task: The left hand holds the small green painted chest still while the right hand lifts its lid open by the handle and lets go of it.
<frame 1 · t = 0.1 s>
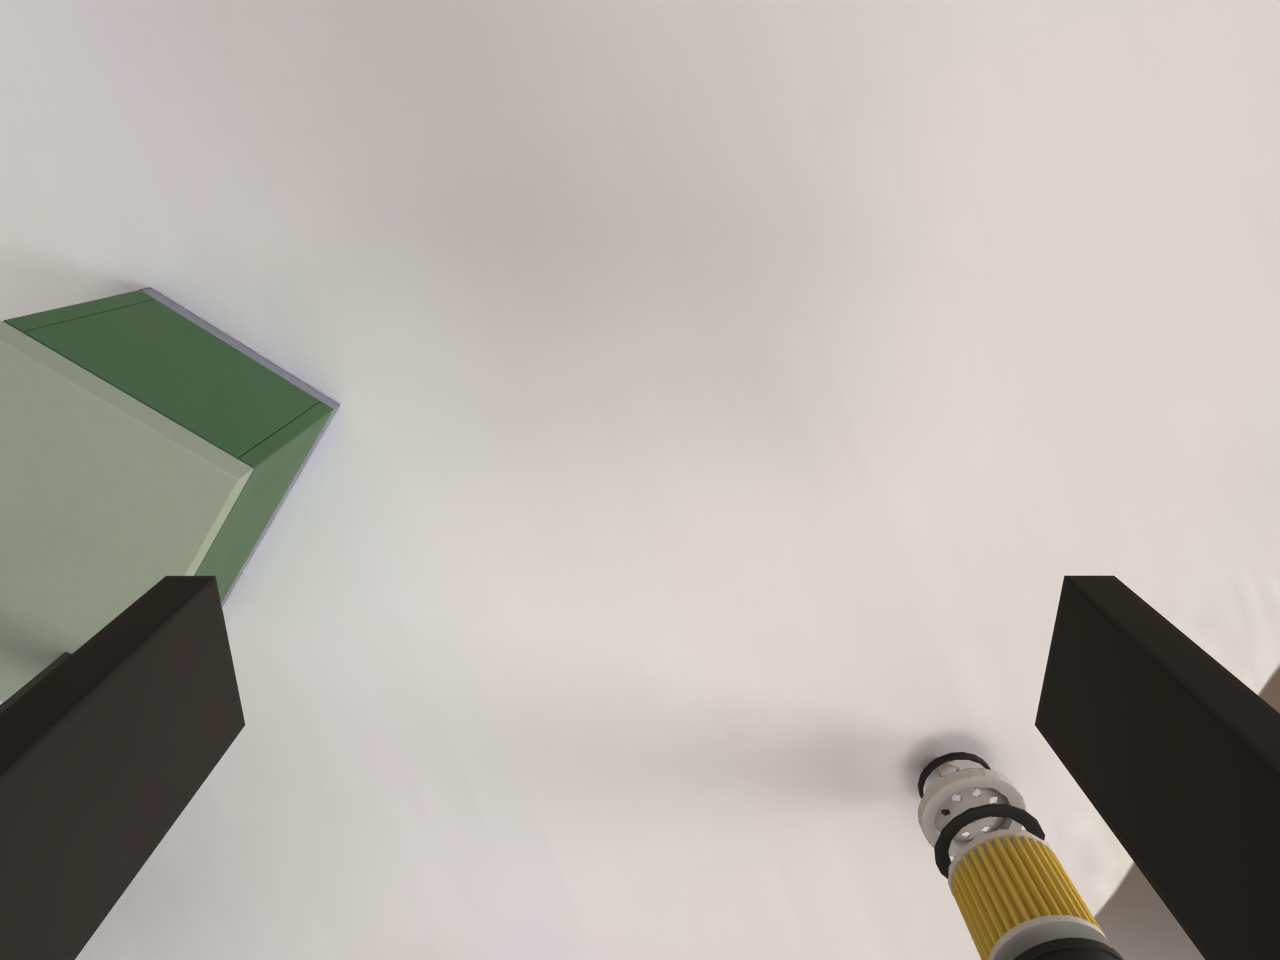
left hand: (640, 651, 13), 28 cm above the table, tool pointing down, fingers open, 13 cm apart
chest: (188, 458, 41), on the table
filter: (947, 767, 48), on the table
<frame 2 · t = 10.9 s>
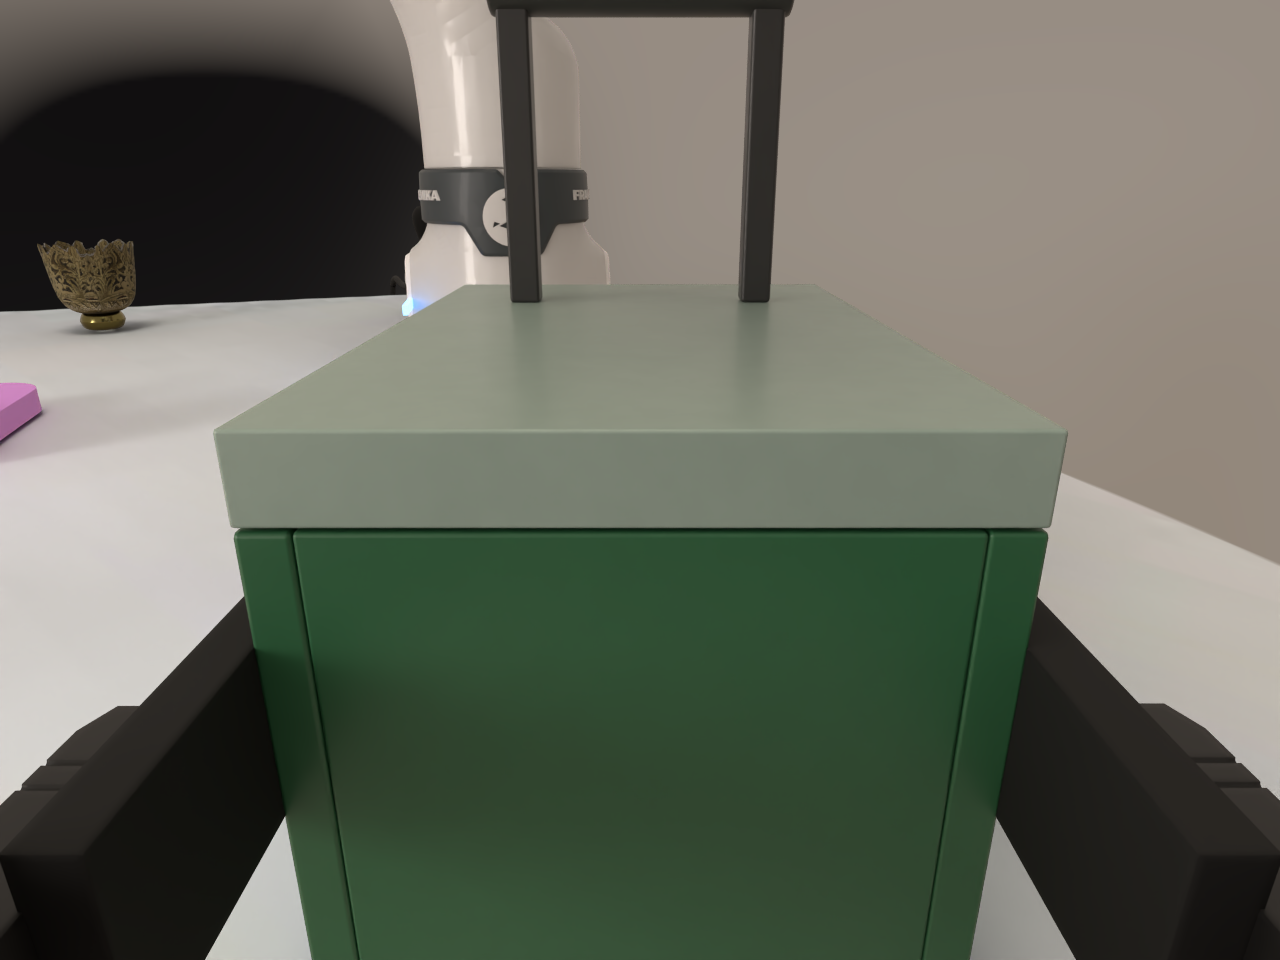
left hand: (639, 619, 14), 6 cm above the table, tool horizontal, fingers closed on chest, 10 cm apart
cup: (105, 330, 78), on the table
chest: (640, 778, 20), on the table, touching left hand
lid: (640, 155, 15), point 14 cm above the table, hinge at 0.0°
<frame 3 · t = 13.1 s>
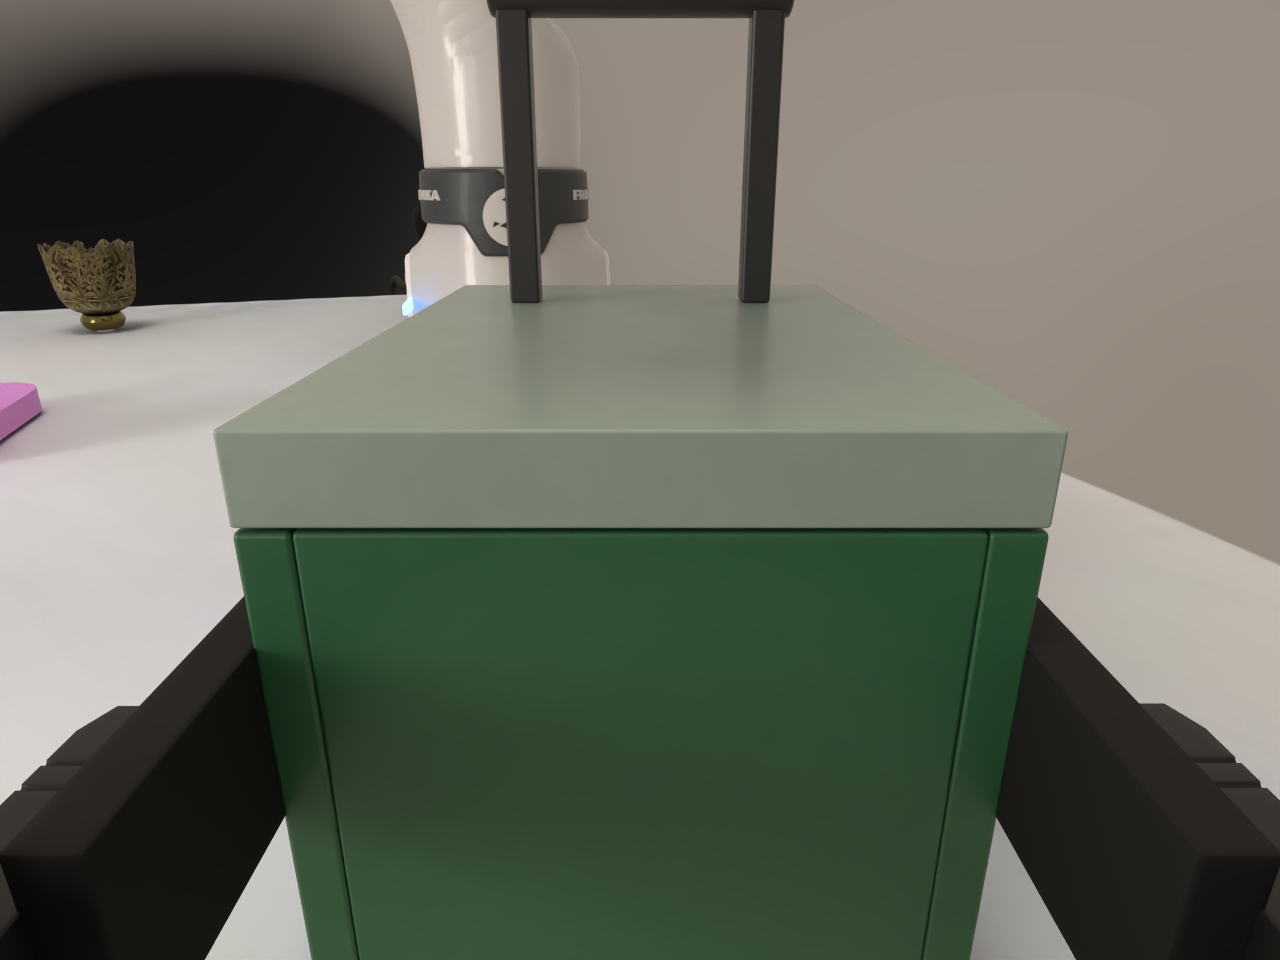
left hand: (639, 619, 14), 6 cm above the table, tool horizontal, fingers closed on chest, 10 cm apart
cup: (105, 330, 78), on the table
chest: (640, 778, 20), on the table, touching left hand
lid: (640, 155, 15), point 14 cm above the table, hinge at -0.1°, touching right hand
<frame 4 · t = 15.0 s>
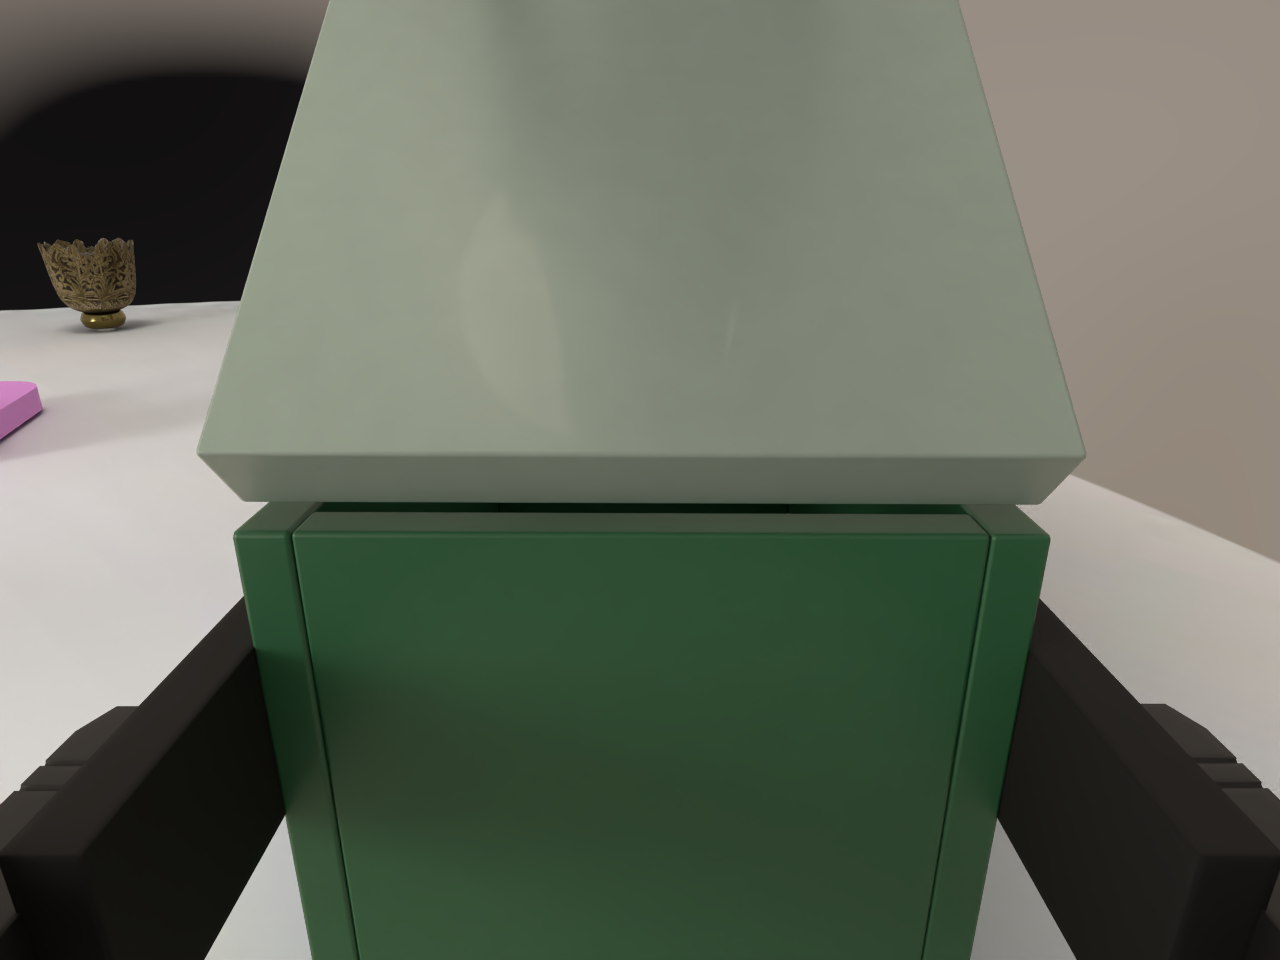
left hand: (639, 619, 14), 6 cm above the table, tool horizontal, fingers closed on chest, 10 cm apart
cup: (105, 329, 78), on the table
chest: (641, 776, 20), on the table, touching left hand
when the left hand's fingers open (6 cm above the table, at t = 20.8 s): chest stays where it is, on the table.
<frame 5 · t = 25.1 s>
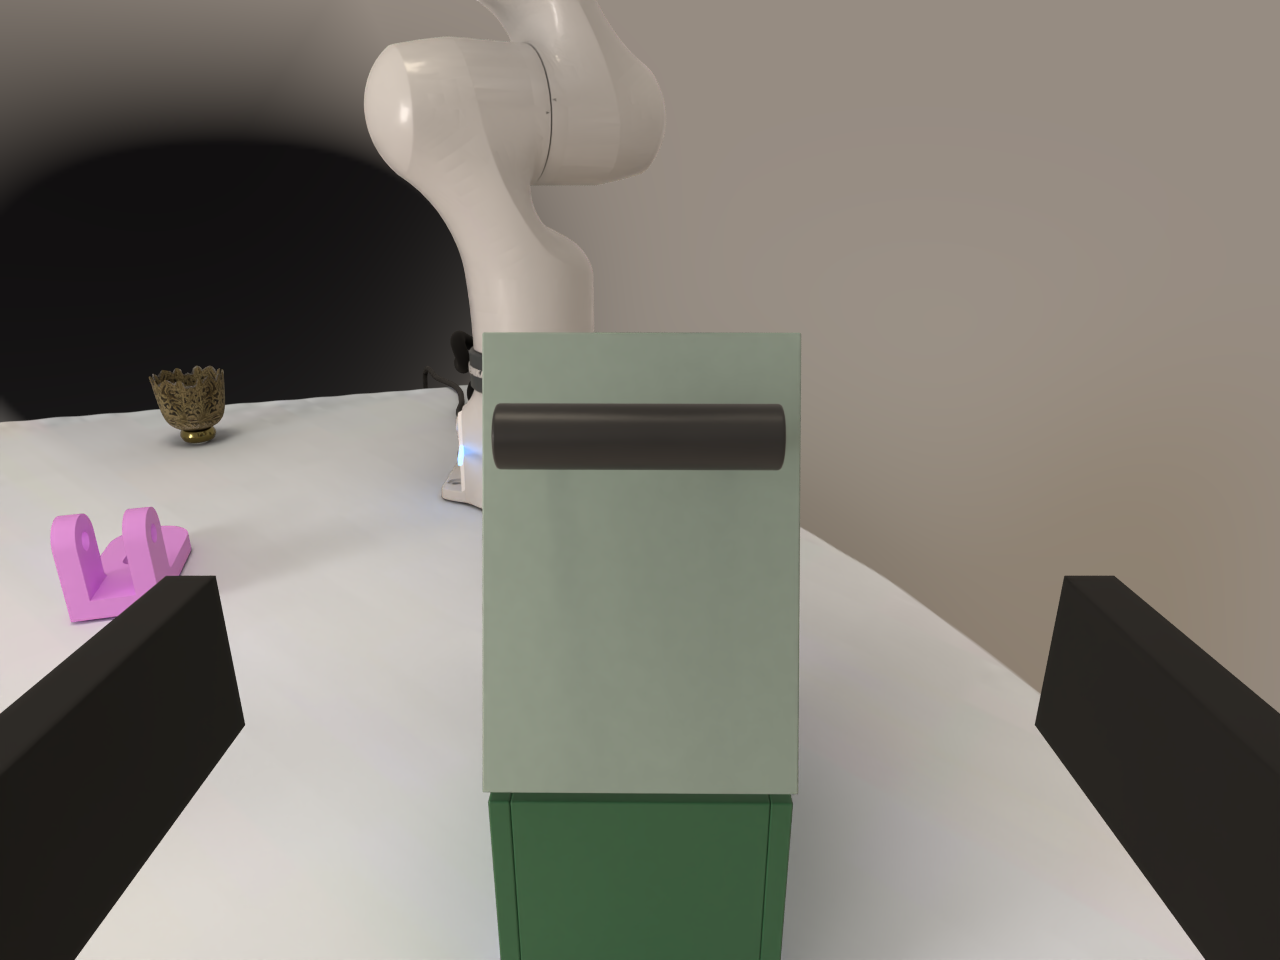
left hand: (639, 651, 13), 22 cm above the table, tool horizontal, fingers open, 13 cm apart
cup: (199, 441, 95), on the table
chest: (641, 863, 36), on the table
squiggle: (508, 411, 107), on the table
bracket: (141, 577, 62), on the table
lid: (639, 578, 22), point 18 cm above the table, hinge at 71.1°
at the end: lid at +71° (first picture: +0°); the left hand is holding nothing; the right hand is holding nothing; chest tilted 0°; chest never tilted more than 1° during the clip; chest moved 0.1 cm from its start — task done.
